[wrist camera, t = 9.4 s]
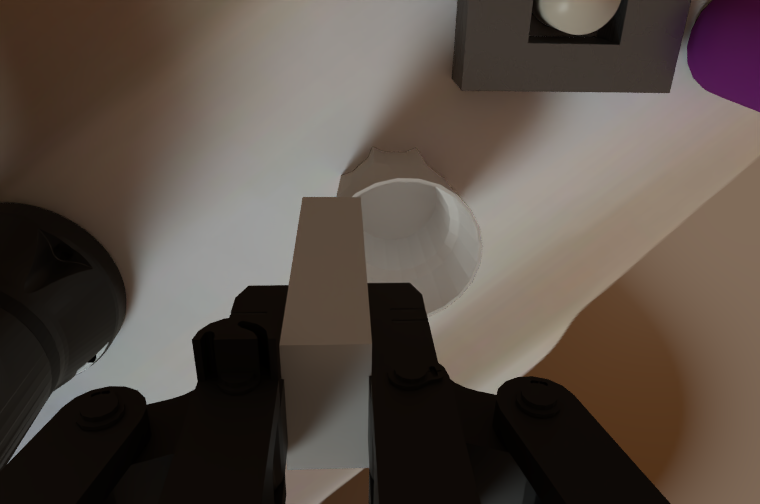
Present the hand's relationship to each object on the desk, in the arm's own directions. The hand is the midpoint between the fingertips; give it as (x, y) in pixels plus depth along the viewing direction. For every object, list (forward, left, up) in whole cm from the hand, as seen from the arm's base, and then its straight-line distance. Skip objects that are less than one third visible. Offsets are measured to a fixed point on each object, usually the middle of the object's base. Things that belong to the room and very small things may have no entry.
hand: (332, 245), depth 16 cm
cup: (+4, -10, -30) cm, 31 cm away
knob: (+15, +5, -29) cm, 33 cm away
